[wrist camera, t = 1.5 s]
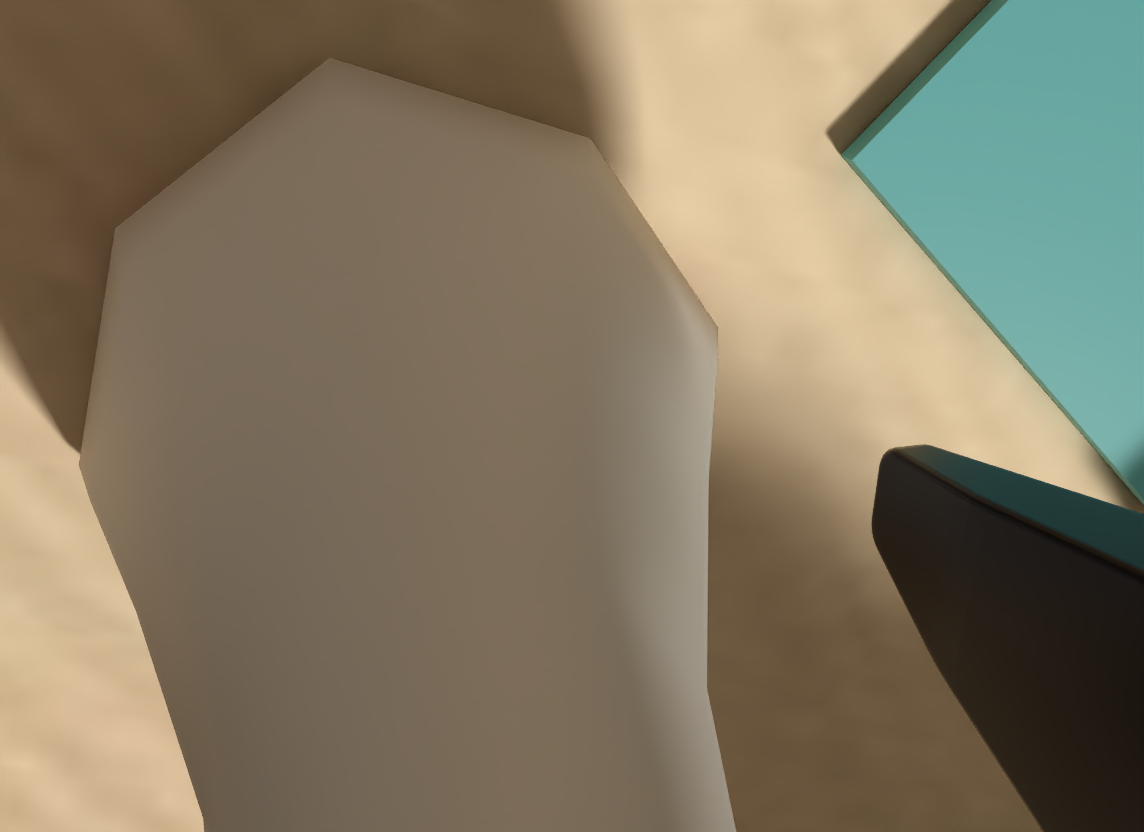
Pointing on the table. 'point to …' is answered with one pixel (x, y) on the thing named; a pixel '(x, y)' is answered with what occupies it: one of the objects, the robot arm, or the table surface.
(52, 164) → the table surface
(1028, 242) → the pad
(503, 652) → the flask
